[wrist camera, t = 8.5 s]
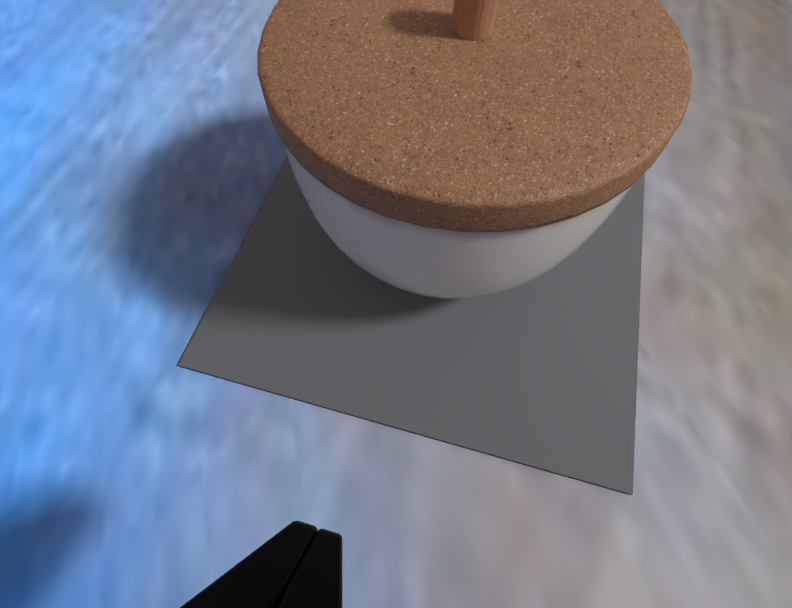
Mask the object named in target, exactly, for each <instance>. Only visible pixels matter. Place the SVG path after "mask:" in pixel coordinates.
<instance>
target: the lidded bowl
mask: <svg viewBox="0 0 792 608" xmlns="http://www.w3.org/2000/svg"><path fill="white" fill-rule="evenodd" d="M691 75H692V73H691V67H690V61H689V55H688V50H687V45H686V43H685V41H684V39H683V37H682V35H681V33H680V31H679V29H678V27H677V25H676V23H675V22H674V20H673V19H672V18H671V16H670V15H669V13H668V12H667V10H666V9H665V8H664V6H663V5H662V4H661V3H660V2H659V1H658V0H279V2H278V3H277V4H276V6H275V7H274V9H273V10H272V12H271V14H270V16H269V18H268V20H267V22H266V24H265V26H264V29H263V32H262V36H261V40H260V44H259V49H258V76H259V80H260V84H261V88H262V91H263V95H264V99H265V102H266V106H267V109H268V112H269V115H270V118H271V120H272V122H273V124H274V126H275V128H276V130H277V132H278V134H279V136H280V138H281V140H282V141H283V144H284V147H285V150H286V154H287V157H288V159H289V162H290V165H291V168H292V170H293V173H294V176H295V178H296V180H297V182H298V184H299V186H300V188H301V190H302V192H303V194H304V196H305V198H306V200H307V202H308V204H309V206H310V208H311V210H312V212H313V214H314V216H315V217H316V219H317V220H318V222H319V223H320V224H321V226H322V227H323V229H324V230H325V231H326V233H327V234H328V235H329V237H330V238H331V239H332V240H333V242H334V243H335V244H336V245H337V247H338V248H339V249H340V250H341V251H342V252H344V253H345V254H346V255H347V256H348V257H349V258H350V259H351V260H352V261H354V262H355V263H356V264H357V265H359V266H360V267H361V268H362V269H364V270H365V271H367V272H369V273H370V274H372V275H373V276H375V277H376V278H378V279H379V280H381V281H383V282H386V283H388V284H390V285H392V286H394V287H397V288H399V289H402V290H405V291H409V292H412V293H416V294H419V295H423V296H430V297H437V298H444V299H468V298H475V297H482V296H489V295H493V294H496V293H500V292H503V291H507V290H510V289H513V288H515V287H518V286H520V285H523V284H525V283H527V282H529V281H531V280H533V279H535V278H538V277H540V276H542V275H543V274H545V273H546V272H547V271H549V270H550V269H552V268H553V267H555V266H556V265H558V264H559V263H560V262H562V261H563V260H564V259H566V258H567V257H568V256H570V255H571V254H572V253H574V252H575V251H576V250H577V249H578V248H579V247H580V246H581V245H582V244H583V243H584V242H585V241H586V240H587V239H588V238H589V237H590V236H591V235H592V234H593V233H594V232H595V231H596V230H597V229H598V228H599V227H600V226H601V225H602V223H603V222H604V221H605V220H606V219H607V218H608V217H609V216H610V215H611V213H612V212H613V211H614V210H615V208H616V207H617V206H618V204H619V203H620V202H621V200H622V199H623V198H624V196H625V195H626V194H627V192H628V191H629V189H630V188H631V186H632V185H633V184H634V183H635V182H636V181H637V180H638V179H639V178H640V177H641V176H642V175H643V174H644V173H645V172H646V171H647V170H648V169H649V168H650V167H651V165H652V164H653V163H654V162H655V161H656V159H657V158H658V157H659V155H660V154H661V153H662V151H663V150H664V148H665V147H666V145H667V144H668V142H669V141H670V139H671V137H672V136H673V134H674V133H675V131H676V130H677V128H678V126H679V125H680V123H681V122H682V120H683V118H684V115H685V112H686V109H687V105H688V102H689V99H690V96H691Z"/></svg>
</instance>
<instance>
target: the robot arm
mask: <svg viewBox="0 0 792 608" xmlns="http://www.w3.org/2000/svg"><path fill="white" fill-rule="evenodd" d="M180 608H342V536H341V535H340V534H338V533H335V532H331V531H328V530H325V529H319V530H317V528H316V527H315V526H313V525H310V524H307V523H304V522H301V521H294V522H292V523H291V524H289V525H288V526H287V527H285V528H284V529H283V530H281V531H280V532H279V533H278V534H276V535H275V536H274V537H272V538H271V539H270V540H268V541H267V542H266V543H264V544H263V545H262V546H260V547H259V548H258V549H256V550H255V551H254V552H253V553H251V554H250V555H249V556H247V557H246V558H245V559H243V560H242V561H241V562H239V563H238V564H237V565H235V566H234V567H233V568H231V569H230V570H229V571H228V572H226V573H225V574H224V575H222V576H221V577H220V578H218V579H217V580H216V581H214V582H213V583H212V584H210V585H209V586H208V587H206V588H205V589H204V590H203V591H201V592H200V593H199V594H197V595H196V596H195V597H193V598H192V599H191V600H189V601H188V602H187V603H185V604H184V605H183V606H182V607H180Z"/></svg>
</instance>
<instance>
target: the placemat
mask: <svg viewBox="0 0 792 608" xmlns="http://www.w3.org/2000/svg"><path fill="white" fill-rule="evenodd" d="M643 199H644V174H643V175H642V176H641V177H640V178H639V179H638V180H637V181H636V182H635V183H634V184H633V185H632V186H631V188H630V189H629V191H628V192H627V194H626V195H625V196H624V198H623V199H622V200H621V202H620V203H619V204H618V206H617V207H616V208H615V210H614V211H613V212H612V213H611V215H610V216H609V217H608V218H607V219H606V220H605V221H604V222H603V223H602V225H601V226H600V227H599V228H598V229H597V230H596V231H595V232H594V233H593V234H592V235H591V236H590V237H589V238H588V239H587V240H586V241H585V242H584V243H583V244H582V245H581V246H580V247H579V248H578V249H577V250H576V251H575V252H574V253H572V254H571V255H570V256H568V257H567V258H566V259H564V260H563V261H562V262H560V263H559V264H558V265H556V266H555V267H553V268H552V269H550V270H549V271H547V272H546V273H545V274H543V275H542V276H540V277H538V278H535V279H533V280H531V281H529V282H527V283H525V284H523V285H520V286H518V287H515V288H513V289H510V290H507V291H503V292H500V293H496V294H493V295H489V296H482V297H475V298H468V299H444V298H437V297H430V296H423V295H419V294H416V293H412V292H409V291H405V290H402V289H399V288H397V287H394V286H392V285H390V284H388V283H386V282H383V281H381V280H379V279H378V278H376V277H375V276H373V275H372V274H370V273H369V272H367V271H365V270H364V269H362V268H361V267H360V266H359V265H357V264H356V263H355V262H354V261H352V260H351V259H350V258H349V257H348V256H347V255H346V254H345V253H344V252H342V251H341V250H340V249H339V248H338V247H337V245H336V244H335V243H334V242H333V240H332V239H331V238H330V237H329V235H328V234H327V233H326V231H325V230H324V229H323V227H322V226H321V224H320V223H319V222H318V220H317V219H316V217H315V216H314V214H313V212H312V210H311V208H310V206H309V204H308V202H307V200H306V198H305V196H304V194H303V192H302V190H301V188H300V186H299V184H298V182H297V180H296V178H295V176H294V173H293V170H292V168H291V165H290V162H289V159H288V157H287V159H286V160H285V162H284V164H283V166H282V168H281V170H280V172H279V174H278V176H277V178H276V179H275V181H274V183H273V185H272V187H271V189H270V191H269V193H268V195H267V197H266V199H265V200H264V202H263V204H262V206H261V208H260V210H259V212H258V214H257V216H256V218H255V220H254V221H253V223H252V225H251V227H250V229H249V231H248V233H247V235H246V237H245V239H244V240H243V242H242V244H241V246H240V248H239V250H238V252H237V254H236V256H235V258H234V260H233V261H232V263H231V265H230V267H229V269H228V271H227V273H226V275H225V277H224V279H223V280H222V282H221V284H220V286H219V288H218V290H217V292H216V294H215V296H214V298H213V300H212V301H211V303H210V305H209V307H208V309H207V311H206V313H205V315H204V317H203V319H202V321H201V322H200V324H199V326H198V328H197V330H196V332H195V334H194V336H193V338H192V340H191V341H190V343H189V345H188V347H187V349H186V351H185V353H184V355H183V357H182V359H181V361H180V362H179V364H178V365H179V366H180V367H184V368H187V369H191V370H194V371H198V372H201V373H205V374H208V375H212V376H215V377H219V378H222V379H226V380H229V381H233V382H236V383H240V384H243V385H247V386H250V387H254V388H257V389H261V390H264V391H268V392H272V393H275V394H279V395H282V396H286V397H289V398H293V399H296V400H300V401H303V402H307V403H310V404H314V405H317V406H321V407H324V408H328V409H331V410H335V411H338V412H342V413H345V414H349V415H352V416H356V417H359V418H363V419H366V420H370V421H373V422H377V423H380V424H384V425H387V426H391V427H394V428H398V429H401V430H405V431H409V432H412V433H416V434H419V435H423V436H426V437H430V438H433V439H437V440H440V441H444V442H447V443H451V444H454V445H458V446H461V447H465V448H468V449H472V450H475V451H479V452H482V453H486V454H489V455H493V456H496V457H500V458H503V459H507V460H510V461H514V462H517V463H521V464H524V465H528V466H531V467H535V468H538V469H542V470H546V471H549V472H553V473H556V474H560V475H563V476H567V477H570V478H574V479H577V480H581V481H584V482H588V483H591V484H595V485H598V486H602V487H605V488H609V489H612V490H616V491H619V492H623V493H626V494H630V495H632V494H633V471H634V444H635V416H636V389H637V362H638V335H639V308H640V281H641V254H642V226H643Z"/></svg>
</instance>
